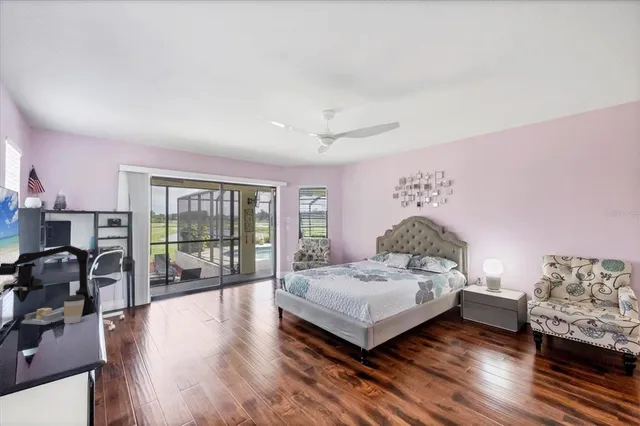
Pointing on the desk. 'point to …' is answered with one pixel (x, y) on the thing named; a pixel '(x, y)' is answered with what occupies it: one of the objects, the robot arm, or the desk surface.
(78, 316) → the coffee cup
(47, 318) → the vise bed
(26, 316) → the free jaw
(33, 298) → the desk surface
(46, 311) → the maple block
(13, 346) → the desk surface
